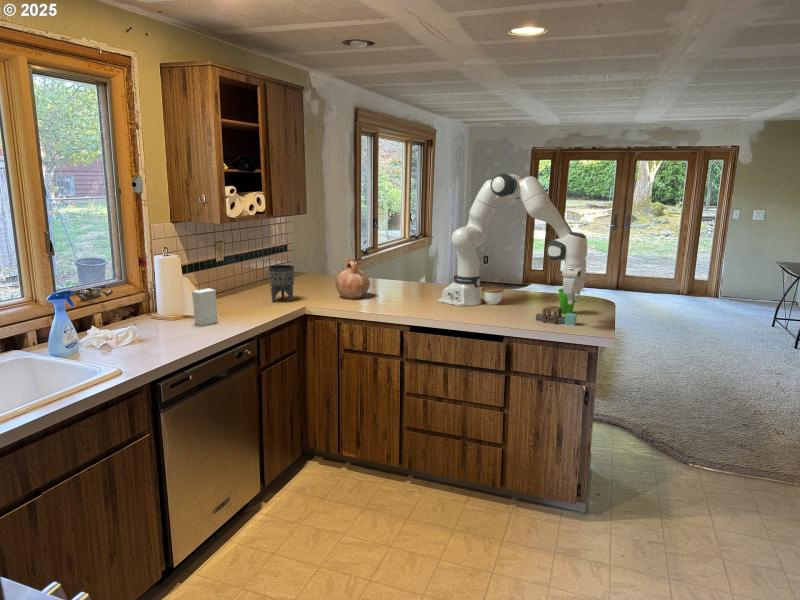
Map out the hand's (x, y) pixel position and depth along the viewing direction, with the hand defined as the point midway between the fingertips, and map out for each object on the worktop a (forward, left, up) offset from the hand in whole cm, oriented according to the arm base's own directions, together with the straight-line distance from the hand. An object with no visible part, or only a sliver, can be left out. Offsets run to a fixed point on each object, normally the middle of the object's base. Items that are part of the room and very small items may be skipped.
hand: (573, 302), depth 246 cm
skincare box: (-133, -88, -10) cm, 160 cm away
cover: (-9, 0, -10) cm, 13 cm away
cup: (-8, +19, -10) cm, 23 cm away
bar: (-9, -1, -10) cm, 14 cm away
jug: (-114, -8, -10) cm, 115 cm away
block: (0, -1, -10) cm, 10 cm away
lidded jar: (-46, +19, -10) cm, 51 cm away
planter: (-138, -36, -10) cm, 143 cm away
